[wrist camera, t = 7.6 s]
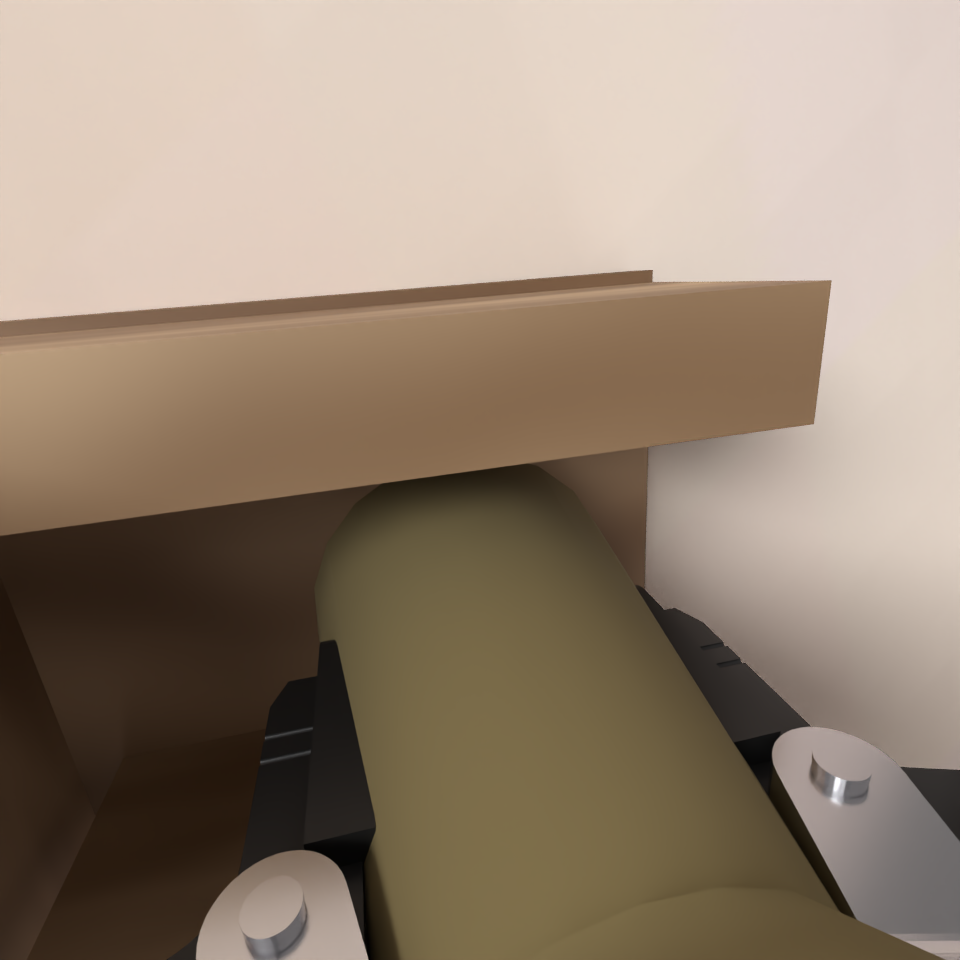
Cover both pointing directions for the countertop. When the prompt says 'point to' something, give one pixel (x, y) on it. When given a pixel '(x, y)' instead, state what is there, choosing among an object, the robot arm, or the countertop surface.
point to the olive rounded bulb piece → (548, 748)
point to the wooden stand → (288, 531)
